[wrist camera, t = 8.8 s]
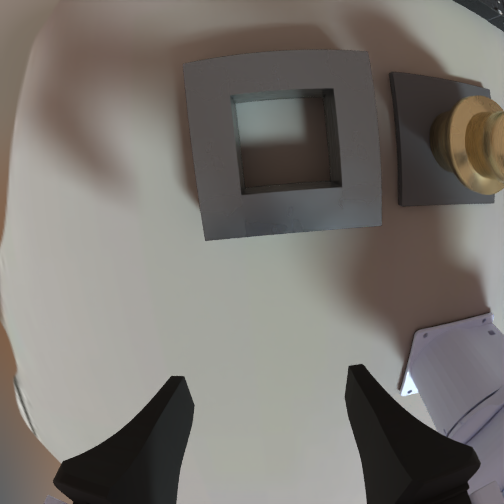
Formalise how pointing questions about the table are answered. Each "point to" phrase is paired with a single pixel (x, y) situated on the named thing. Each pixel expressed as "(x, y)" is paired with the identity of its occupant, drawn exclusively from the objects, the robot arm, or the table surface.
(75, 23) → the table surface
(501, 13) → the disk drive
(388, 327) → the table surface
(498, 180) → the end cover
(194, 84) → the housing
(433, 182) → the mat
